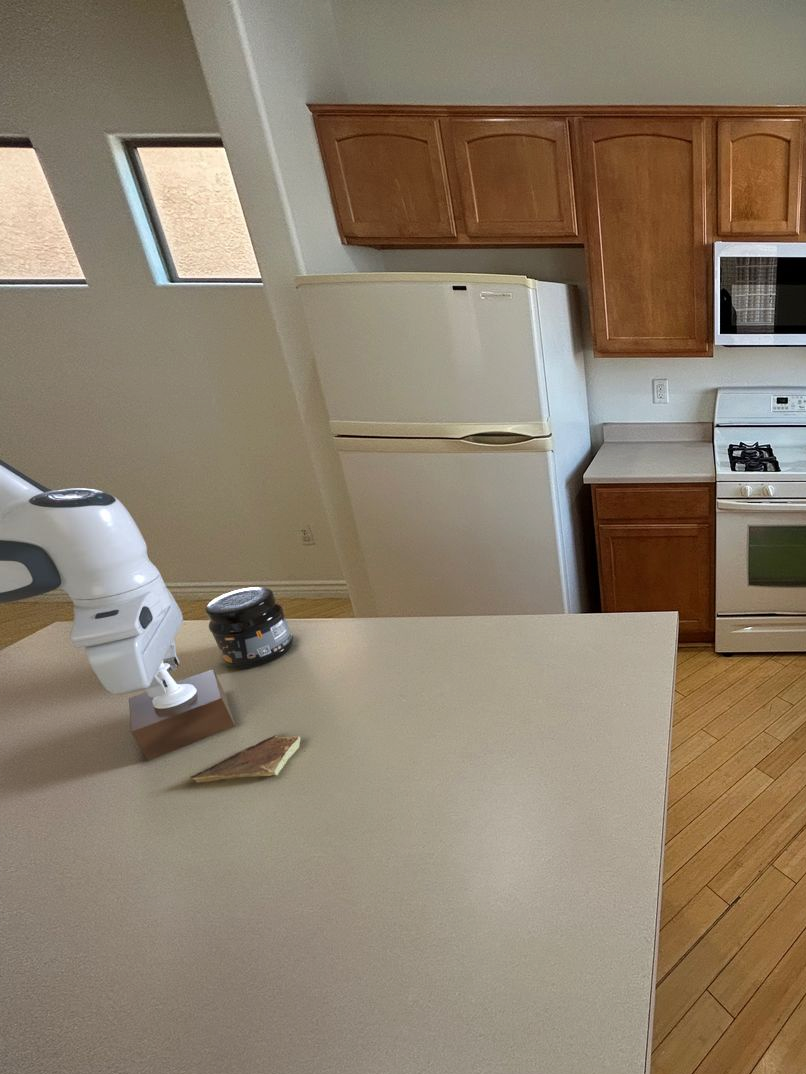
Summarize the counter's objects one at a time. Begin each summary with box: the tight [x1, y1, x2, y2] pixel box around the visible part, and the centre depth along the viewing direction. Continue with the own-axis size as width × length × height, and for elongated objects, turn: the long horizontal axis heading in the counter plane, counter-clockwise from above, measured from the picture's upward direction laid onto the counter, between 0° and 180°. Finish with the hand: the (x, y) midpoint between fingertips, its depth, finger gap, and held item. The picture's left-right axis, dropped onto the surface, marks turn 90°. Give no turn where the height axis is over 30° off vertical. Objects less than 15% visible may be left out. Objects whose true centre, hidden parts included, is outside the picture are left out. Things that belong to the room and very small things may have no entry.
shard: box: [189, 735, 301, 783], centre depth 80 cm, size 11×8×2 cm
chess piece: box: [152, 661, 197, 709], centre depth 82 cm, size 5×5×10 cm
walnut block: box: [128, 668, 236, 762], centre depth 86 cm, size 10×10×6 cm
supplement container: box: [204, 586, 295, 670], centre depth 102 cm, size 10×10×12 cm
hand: (166, 680), depth 83 cm, fingers open, 5 cm apart
